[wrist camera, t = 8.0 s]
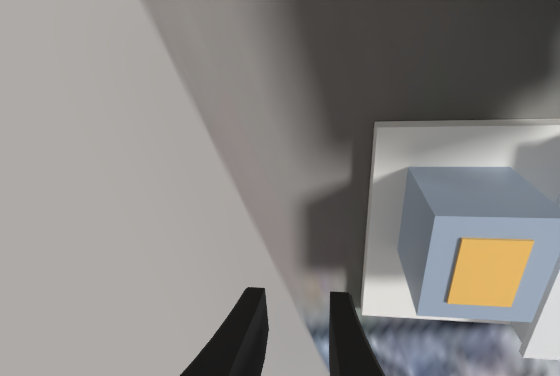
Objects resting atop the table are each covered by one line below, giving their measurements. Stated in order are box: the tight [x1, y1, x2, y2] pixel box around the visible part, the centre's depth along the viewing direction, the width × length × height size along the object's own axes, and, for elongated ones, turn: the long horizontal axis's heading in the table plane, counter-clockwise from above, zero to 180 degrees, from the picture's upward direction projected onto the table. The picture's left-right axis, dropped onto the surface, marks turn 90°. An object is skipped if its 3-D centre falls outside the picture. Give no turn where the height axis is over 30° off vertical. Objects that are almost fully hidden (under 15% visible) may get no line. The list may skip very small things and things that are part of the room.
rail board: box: [361, 119, 560, 360], centre depth 17 cm, size 12×11×3 cm
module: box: [397, 167, 560, 322], centre depth 15 cm, size 5×4×5 cm
